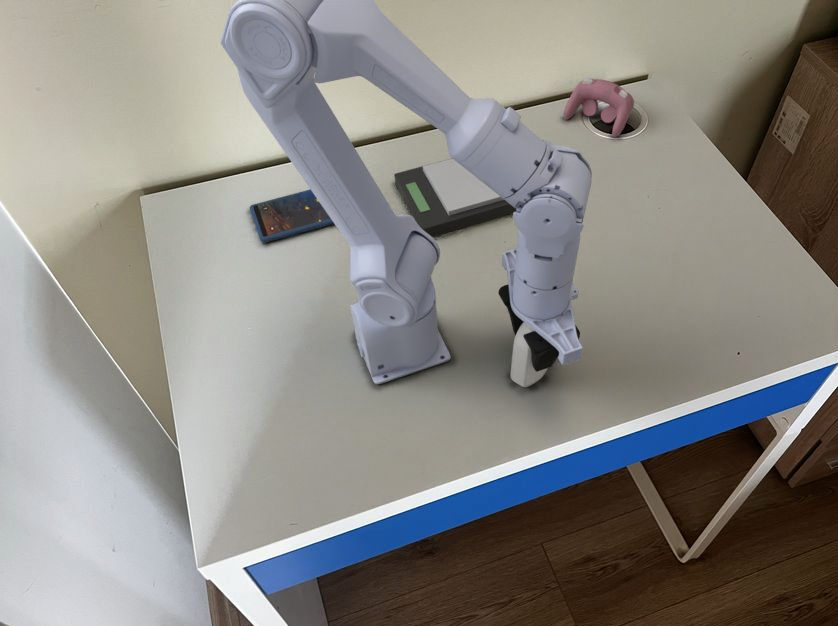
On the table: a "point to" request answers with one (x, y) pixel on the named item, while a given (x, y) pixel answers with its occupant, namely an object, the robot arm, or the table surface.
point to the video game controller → (604, 92)
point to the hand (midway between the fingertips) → (533, 350)
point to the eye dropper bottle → (523, 360)
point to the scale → (448, 197)
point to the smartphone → (288, 215)
